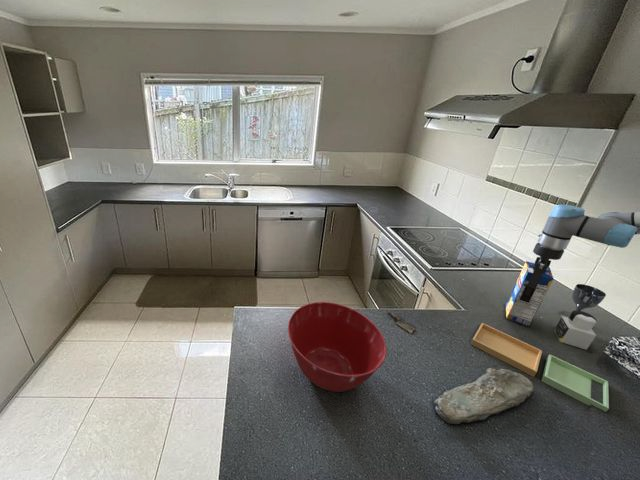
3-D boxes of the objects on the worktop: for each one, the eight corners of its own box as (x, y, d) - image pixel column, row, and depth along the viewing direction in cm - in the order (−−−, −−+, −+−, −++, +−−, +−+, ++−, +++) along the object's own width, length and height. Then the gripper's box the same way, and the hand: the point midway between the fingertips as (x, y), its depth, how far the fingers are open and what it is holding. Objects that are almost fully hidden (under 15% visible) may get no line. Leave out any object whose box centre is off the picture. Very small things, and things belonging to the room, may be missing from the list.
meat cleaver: (406, 334, 104) (417, 332, 106) (407, 332, 104) (418, 330, 105) (385, 313, 114) (394, 311, 116) (385, 310, 114) (395, 309, 115)
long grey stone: (421, 402, 81) (452, 439, 73) (426, 391, 79) (459, 428, 71) (505, 368, 91) (541, 397, 83) (512, 357, 89) (549, 386, 80)
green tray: (604, 386, 87) (608, 381, 86) (604, 414, 79) (609, 408, 78) (546, 359, 96) (549, 354, 95) (541, 381, 88) (544, 375, 87)
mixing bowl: (382, 357, 94) (392, 322, 88) (365, 436, 71) (378, 395, 65) (303, 324, 107) (308, 291, 101) (268, 382, 84) (271, 344, 78)
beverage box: (506, 318, 113) (528, 272, 104) (505, 305, 121) (526, 260, 112) (528, 326, 109) (553, 278, 101) (526, 312, 117) (549, 266, 109)
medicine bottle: (553, 330, 109) (567, 305, 104) (578, 337, 106) (594, 312, 101) (559, 342, 103) (575, 316, 99) (586, 350, 100) (604, 324, 95)
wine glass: (590, 324, 113) (610, 294, 107) (580, 329, 110) (600, 298, 104) (564, 311, 120) (582, 282, 114) (554, 315, 117) (571, 286, 111)
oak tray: (539, 355, 97) (542, 350, 96) (533, 377, 89) (536, 371, 88) (480, 327, 109) (482, 322, 108) (470, 344, 101) (472, 339, 100)
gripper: (540, 234, 112) (519, 280, 121) (532, 251, 98) (508, 302, 106) (567, 241, 107) (543, 288, 116) (562, 260, 93) (534, 312, 101)
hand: (526, 295), depth 111 cm, fingers closed on beverage box, 11 cm apart
